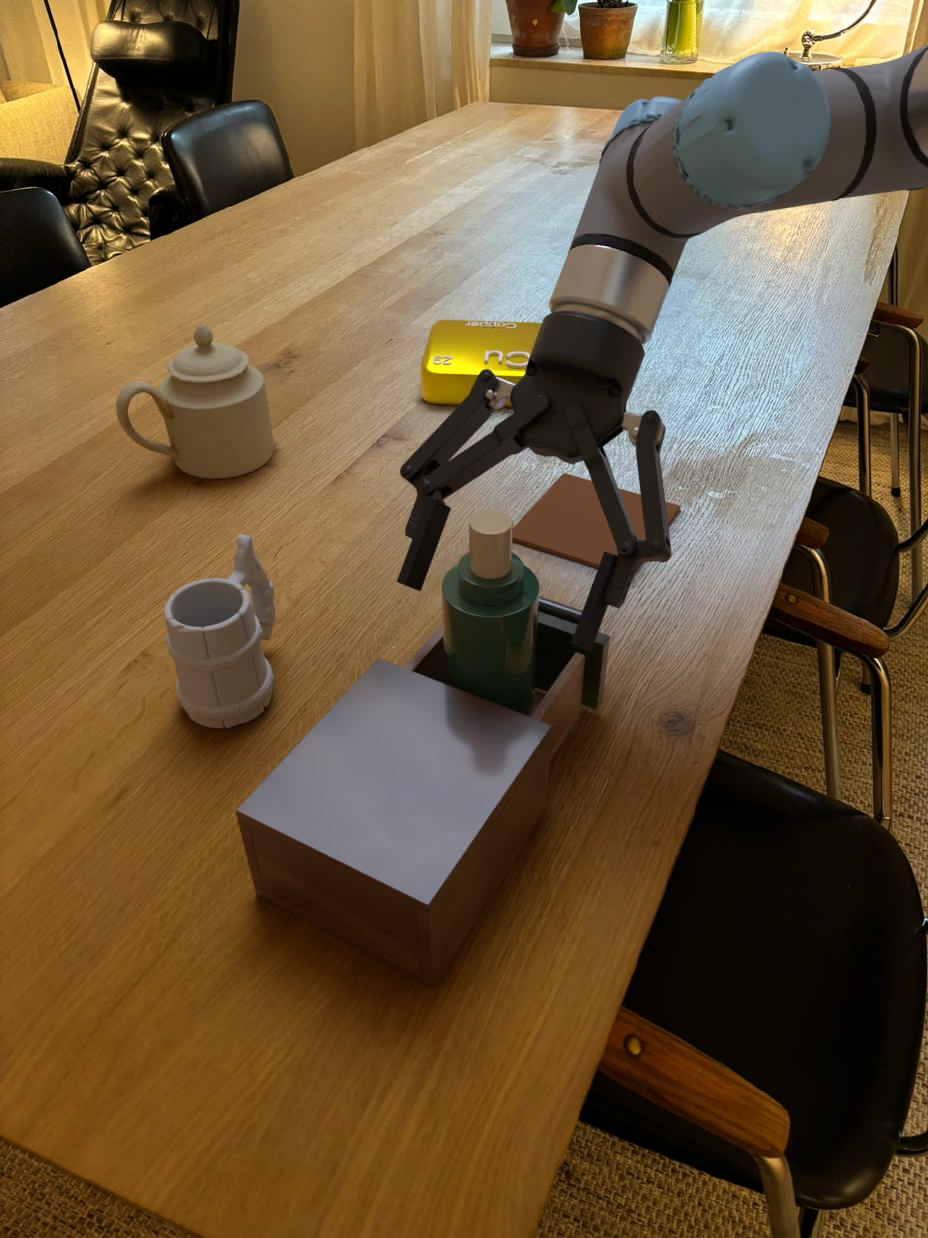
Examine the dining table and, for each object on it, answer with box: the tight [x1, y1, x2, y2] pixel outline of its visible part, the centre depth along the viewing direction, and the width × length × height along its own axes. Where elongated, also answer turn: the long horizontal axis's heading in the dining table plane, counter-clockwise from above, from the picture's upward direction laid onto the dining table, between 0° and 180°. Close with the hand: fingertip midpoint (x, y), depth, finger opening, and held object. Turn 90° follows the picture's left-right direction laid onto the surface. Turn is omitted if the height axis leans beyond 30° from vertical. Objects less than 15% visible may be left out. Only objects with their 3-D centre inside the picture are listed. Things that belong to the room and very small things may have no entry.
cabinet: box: [235, 657, 552, 989], centre depth 66 cm, size 16×14×9 cm
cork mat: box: [512, 472, 681, 571], centre depth 98 cm, size 13×13×1 cm
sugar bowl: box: [115, 322, 275, 480], centre depth 103 cm, size 15×11×15 cm
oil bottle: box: [441, 509, 541, 717], centre depth 69 cm, size 7×7×18 cm
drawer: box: [402, 595, 611, 761], centre depth 75 cm, size 19×13×7 cm
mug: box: [163, 534, 276, 729], centre depth 78 cm, size 8×12×12 cm, turn 159°
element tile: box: [419, 319, 542, 408], centre depth 121 cm, size 15×15×5 cm
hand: (491, 617), depth 69 cm, fingers open, 13 cm apart
